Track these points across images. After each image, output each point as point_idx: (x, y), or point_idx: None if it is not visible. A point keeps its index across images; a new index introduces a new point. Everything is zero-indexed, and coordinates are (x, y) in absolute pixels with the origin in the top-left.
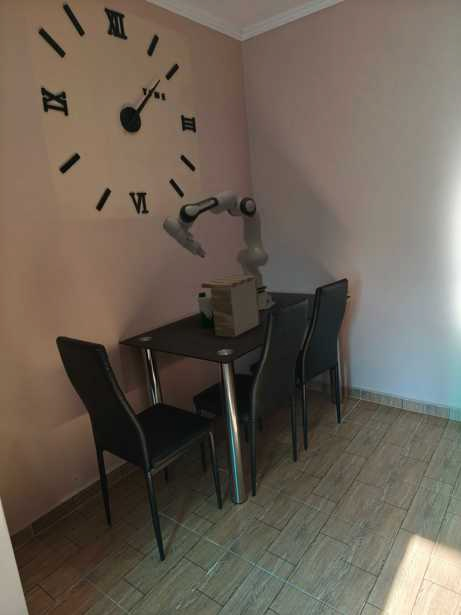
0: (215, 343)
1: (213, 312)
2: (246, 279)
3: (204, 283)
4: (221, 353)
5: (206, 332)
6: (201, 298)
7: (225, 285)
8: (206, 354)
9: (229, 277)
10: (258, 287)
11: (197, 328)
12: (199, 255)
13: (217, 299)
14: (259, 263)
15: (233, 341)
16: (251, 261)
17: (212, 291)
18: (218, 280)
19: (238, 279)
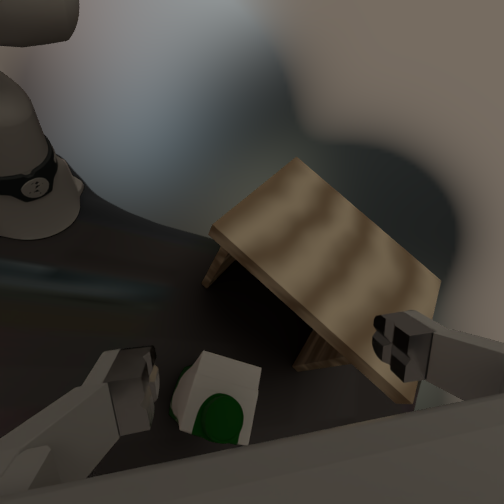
0: (354, 373)
1: (338, 364)
2: (347, 202)
3: (401, 384)
4: None
5: (264, 402)
6: (252, 420)
7: (436, 290)
8: None
9: (284, 243)
10: (47, 144)
11: (207, 445)
12: (83, 475)
13: None
14: (72, 32)
15: None
16: (12, 24)
17: None
18: (343, 304)
19: (350, 225)
